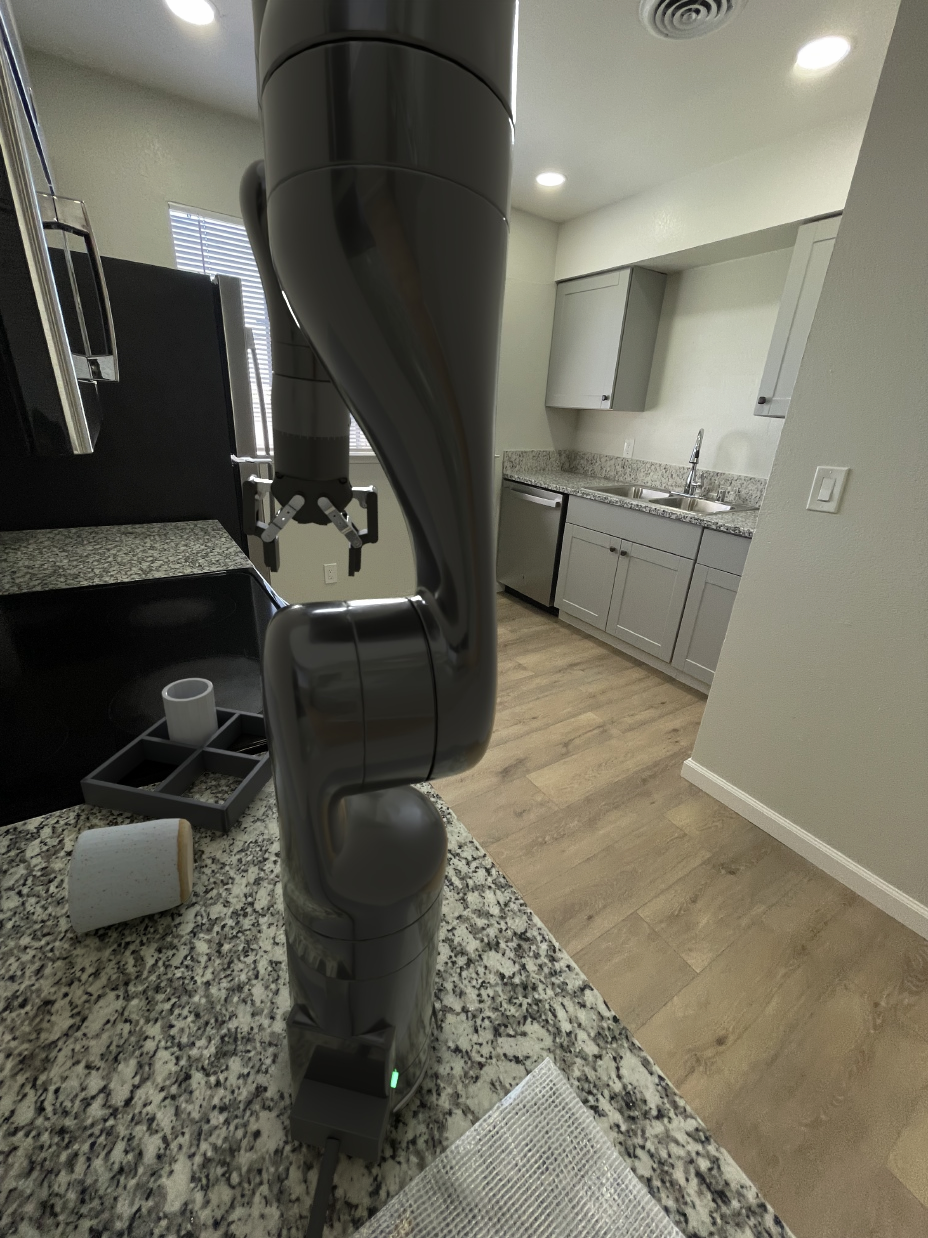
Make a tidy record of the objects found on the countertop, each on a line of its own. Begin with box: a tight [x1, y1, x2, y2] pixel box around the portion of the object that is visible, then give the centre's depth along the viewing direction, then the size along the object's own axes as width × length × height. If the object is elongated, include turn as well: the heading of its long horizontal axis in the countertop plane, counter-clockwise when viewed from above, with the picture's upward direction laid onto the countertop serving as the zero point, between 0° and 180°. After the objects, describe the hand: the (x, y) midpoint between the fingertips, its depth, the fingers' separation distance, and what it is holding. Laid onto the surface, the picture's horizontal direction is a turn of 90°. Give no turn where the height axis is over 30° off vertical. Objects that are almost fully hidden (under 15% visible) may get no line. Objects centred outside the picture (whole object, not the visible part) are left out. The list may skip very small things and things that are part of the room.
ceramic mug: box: [67, 819, 194, 934], centre depth 44 cm, size 11×8×8 cm
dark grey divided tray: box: [79, 706, 273, 833], centre depth 60 cm, size 16×16×3 cm
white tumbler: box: [161, 677, 219, 746], centre depth 63 cm, size 5×5×8 cm
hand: (314, 571), depth 59 cm, fingers open, 8 cm apart
